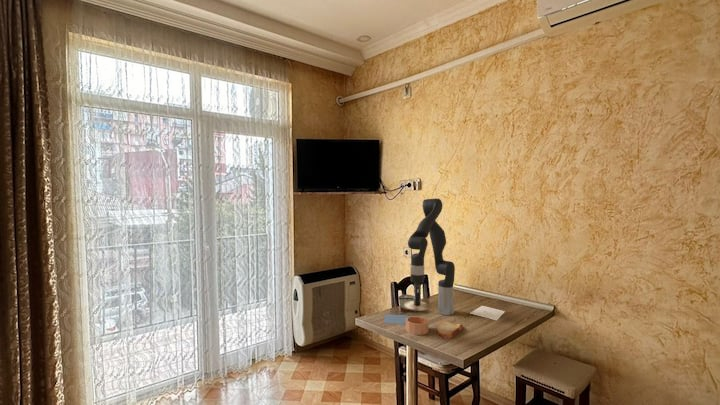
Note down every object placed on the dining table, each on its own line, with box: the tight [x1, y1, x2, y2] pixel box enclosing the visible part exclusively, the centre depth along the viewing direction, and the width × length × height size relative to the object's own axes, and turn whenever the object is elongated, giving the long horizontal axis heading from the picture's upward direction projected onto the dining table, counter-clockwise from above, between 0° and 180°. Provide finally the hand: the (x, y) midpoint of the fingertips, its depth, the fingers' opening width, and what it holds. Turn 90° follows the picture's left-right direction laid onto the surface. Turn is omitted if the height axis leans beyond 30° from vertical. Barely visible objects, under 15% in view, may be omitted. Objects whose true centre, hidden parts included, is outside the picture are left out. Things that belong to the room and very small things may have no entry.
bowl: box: [405, 315, 429, 337], centre depth 179 cm, size 12×12×6 cm
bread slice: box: [436, 320, 464, 340], centre depth 179 cm, size 18×18×4 cm
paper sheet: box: [469, 305, 506, 321], centre depth 206 cm, size 24×29×1 cm
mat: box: [383, 313, 410, 325], centre depth 196 cm, size 15×15×1 cm
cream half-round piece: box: [397, 294, 417, 313], centre depth 212 cm, size 12×6×10 cm, turn 84°
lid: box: [404, 295, 431, 312], centre depth 179 cm, size 14×14×5 cm
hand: (417, 304), depth 179 cm, fingers closed on lid, 3 cm apart
